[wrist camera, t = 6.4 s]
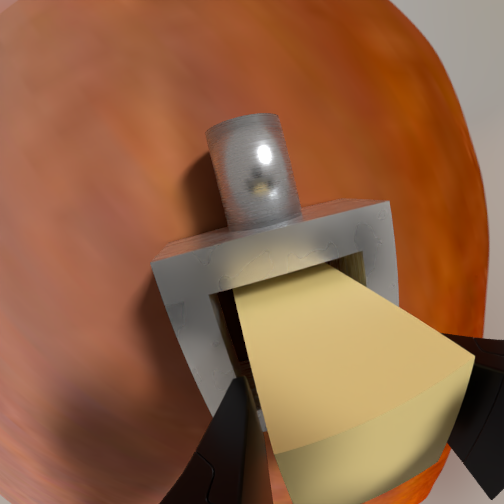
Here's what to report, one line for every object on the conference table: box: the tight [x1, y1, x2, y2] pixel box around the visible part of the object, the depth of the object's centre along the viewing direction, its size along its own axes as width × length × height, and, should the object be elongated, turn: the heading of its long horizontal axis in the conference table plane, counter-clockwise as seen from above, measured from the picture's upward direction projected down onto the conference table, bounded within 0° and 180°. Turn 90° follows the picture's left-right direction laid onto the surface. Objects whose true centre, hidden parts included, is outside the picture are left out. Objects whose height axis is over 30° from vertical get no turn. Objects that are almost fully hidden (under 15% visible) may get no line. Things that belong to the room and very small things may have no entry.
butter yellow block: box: [232, 262, 475, 504], centre depth 9 cm, size 4×4×10 cm
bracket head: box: [150, 113, 399, 432], centre depth 12 cm, size 16×8×4 cm, turn 14°
